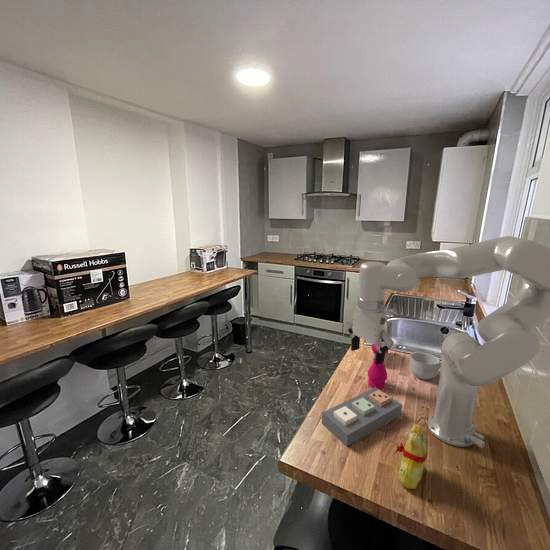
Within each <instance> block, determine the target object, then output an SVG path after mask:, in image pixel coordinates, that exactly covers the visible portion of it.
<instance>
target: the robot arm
mask: <svg viewBox="0 0 550 550" xmlns="http://www.w3.org/2000/svg"><path fill="white" fill-rule="evenodd" d="M500 271H505V272H509V273H511V274H513V275H515V276H517V277H519V278H522V284H521V287H520V290H519V291H518V293H517V294H516V295H515V296H514V297H512V298H511V299H510V300H508V301H507V302H506V303H504V304H503V305H501V306H500V307H498V308H497V309H495V310H494V311H492V312H490V313H489V314H487V315H486V316H484V317H482V319H480V321H479V322H478V324H477V326H476V327H477V328H476V329H477V333H478V335H479V336H480V337H481V339H482V340H483V341H484V343H483V344H481V343H480V342H479V341H478V340H477V339H475V338H474V337H473V336H472V335H470V334H467V333H464V332H454V333H451V334H448V336H447V337H445V339H444V340H443V342H442V345H441V349H440V363H441V367H440V372H441V373H440V375H439V381H438V388H437V396H436V401H435V408H434V414H432V415H431V416H429V418H428V419H427V427H428V429H429V431H430V432H431V434H432V435H433V436H435V437H436V438H437V439H438V440H441V442H444V443H446V444H448V445H450V446H454V447H462V448H463V447H464V448H465V447H466V448H467V447H470V446H472V445H473V444H474V445H476V446H478V447H479V448H480V449H483V448H484V447H485V445H486V441H484V439H485V436H484V435H482V434H480V433H478V432H476V430H475V426H476V425H475V424H473V423H472V421H473V416H474V415H473V414H474V409H475V404H476V398H477V393H478V389H479V387H483V386H484V387H485V386H488V385H491V384H493V383H495V382H497V381H499V380H501V379H502V378H504V377H506V376H508V375H509V374H511V373H513V372H515V371H516V370H518V369H520V368H521V367H523V366H525V365H527V364H528V363H530V362H531V361H532V360H533V359H534V358H536V356H537V355H538V353H539V351H540V347H541V341H540V338H539V336H538V334H537V333H536V331H534V329H536V328H537V327H538V326H540V325H541V324H544V322H546V321H547V320H548V319H549V318H550V247H548V246H546V245H544V244H541V243H539V242H537V241H534V240H532V239H527V238H522V237H521V238H520V237H516V236H511V235H509V236H507V235H506V236H500V237H495V238H492V239H491V238H490V239H487V240H483V241H479V242H474V243H470V244H467V245H462V246H457V247H453V248H452V247H451V248H448V249H447V248H446V249H440V250H439V249H438V250H434V251H426V252H420V253H415V254H411V255H407V256H402V257H398V258H395V259H393V260H391V261H389V262H388V263H387V264H385V263H383V262H379V261H366V262H362V263H361V264H360V267H359V275H358V292H357V302H356V303H357V304H356V305H355V306H356V307H355V309H354V313H353V319H352V320H350V321H346V325H347V332H348V334H349V338H350V339H351V341H350V342H351V343H350V351H351V352H354V351H357V350H359V349H360V344H361V339H362V340H364V341H366V342H368V343H369V344H371V345H372V344H375V347H376V349H377V352H376V356H375V364H376V365H378V364H381V363H383V362H384V363H385V360H384V358H385V351H387V350H388V351H389V350H390V349H391V348H392V346H393V345H394V344H395V342H394V340H393V339H392V337H390V336H389V335H388V324H389V323H388V315H387V310H386V309H387V307H388V306H387V304H385V302H386V301H385V300H386V290H390V291H394V292H399V293H406V292H410V291H412V290H414V289H415V288H416V287H417V285H418V283H419V279H421V278H427V277H428V278H429V277H437V278H438V277H439V278H446V279H450V280H452V279H453V280H454V279H455V280H460V279H461V280H462V279H467V278H471V277H472V278H473V277H475V276H481V275H484V274H485V275H486V274H491V273H495V272H500ZM385 341H386V345H385V343H384V342H385ZM379 344H381V347H382V348H381V347H380V345H379Z"/></svg>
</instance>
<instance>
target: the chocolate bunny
mask: <svg viewBox="0 0 550 550" xmlns="http://www.w3.org/2000/svg"><path fill="white" fill-rule="evenodd" d="M426 440H427V439H426V437H425V435H424V433H423V429H422V427H421V426H420V425H419V424H414V425H413V426H412V427H411V429H410V431H409V435H408V438H407V440H406V441H405V444H404V445H403V443H400V445H397V446H396V450H395V452H394V453H395V454H397V453H398V452H399V453H402V456H401V462H400V466H399V472H398V477H397V478H398V479H397V480H398V481H399V482H400V484H401V485H402V486H403V487H404V488H406V489H410V490H411V489H413V490H416V488H417V486H418V484H419V483H420V481H421V479H422V476H423V474H424V466H425V461H426V459H427V457H428V451H427V441H426Z"/></svg>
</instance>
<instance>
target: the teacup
mask: <svg viewBox="0 0 550 550" xmlns="http://www.w3.org/2000/svg"><path fill="white" fill-rule="evenodd" d="M409 356H410V357H409V370H410V371H411V373H412V374H413V375H414V376H415V377H417V378H419V379H421V380H432V379H434V378H436V377H440V373H441V371H439V369H441V359H439V358H438V357H437V356H435V355H433V354H431V353H426V352H417V351H416V352H413V353H411V354H410V355H409Z"/></svg>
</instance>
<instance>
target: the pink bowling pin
mask: <svg viewBox="0 0 550 550" xmlns="http://www.w3.org/2000/svg"><path fill="white" fill-rule="evenodd" d="M384 343H385V342H384ZM379 345H380V347H381V344H379ZM385 345H386V343H385ZM370 348H371V351H372V352H371V354H372V355H371V356H372V358H373V359H372V363H371V365H370V366H369V368H368V370H367V377H368V380H367V384H368V386H369V388H371V389H373V388H375V387H376V388H377V389H379V390H380V391H382V390H384V389H385V388H386V381H387V379H388V372H387V369H386V367H385V360H386V359H387V355H386V353H387V352H389V350H387V351H385V358H384V362H383V363H381V364H378V365H376V364H375V356H376V352H377V349H376V347H375V344H372V343H371V346H370ZM381 348H382V347H381ZM387 354H388V353H387Z"/></svg>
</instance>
